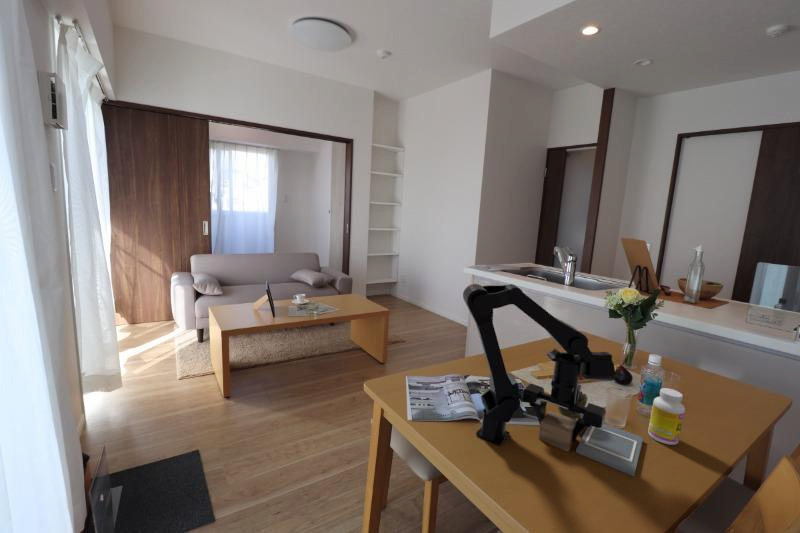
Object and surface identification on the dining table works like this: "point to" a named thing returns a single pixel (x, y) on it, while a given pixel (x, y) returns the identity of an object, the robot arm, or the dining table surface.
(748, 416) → the dining table surface
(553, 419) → the walnut block
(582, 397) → the cup
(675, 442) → the supplement bottle
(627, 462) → the slate board
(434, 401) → the dining table surface
